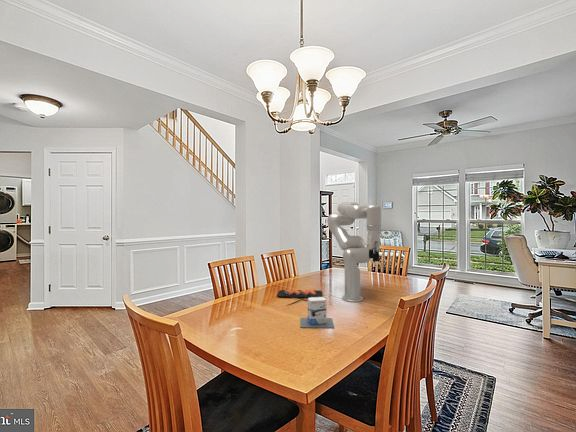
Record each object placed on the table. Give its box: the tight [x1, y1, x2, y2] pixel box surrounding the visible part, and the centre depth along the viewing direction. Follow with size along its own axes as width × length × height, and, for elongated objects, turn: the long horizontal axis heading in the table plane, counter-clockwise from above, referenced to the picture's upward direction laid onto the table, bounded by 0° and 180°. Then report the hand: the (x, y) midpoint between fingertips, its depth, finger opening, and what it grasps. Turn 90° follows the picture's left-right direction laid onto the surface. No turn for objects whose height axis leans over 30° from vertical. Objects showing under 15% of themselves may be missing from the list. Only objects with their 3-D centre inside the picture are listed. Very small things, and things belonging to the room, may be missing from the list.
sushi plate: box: [276, 288, 323, 307], centre depth 191 cm, size 29×30×4 cm
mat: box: [299, 317, 335, 329], centre depth 150 cm, size 12×16×1 cm
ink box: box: [307, 296, 327, 324], centre depth 150 cm, size 8×5×12 cm, turn 101°
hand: (373, 259), depth 166 cm, fingers open, 9 cm apart
